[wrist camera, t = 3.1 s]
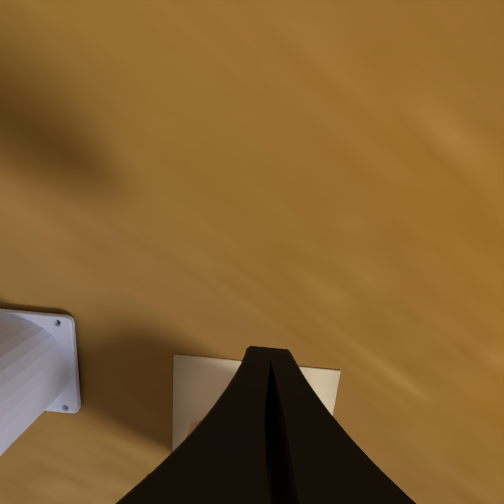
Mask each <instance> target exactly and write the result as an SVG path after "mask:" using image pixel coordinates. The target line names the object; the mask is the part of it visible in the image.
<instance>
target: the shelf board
mask: <svg viewBox="0 0 504 504" xmlns="http://www.w3.org/2000/svg"><path fill="white" fill-rule="evenodd" d="M241 362H242V361H240V360H230V359H219V358H209V357H199V356H188V355H178V354H174V361H173V427H172V452H173V451H174V450H175V449H176V448H177V447H178V446H179V445H180V444H181V443H182V442H183V441H184V440H185V439H186V436H187V433H188V429H189V426H190V424H191V423H192V422H194V421H198V420H202V419H203V418H204V417H205V416H206V415H207V413H208V412H209V411H210V410H211V408H212V407H213V406H214V404H215V403H216V402H217V400H218V399H219V397H220V396H221V395H222V393H223V392H224V391H225V389H226V388H227V386H228V384H229V383H230V381H231V380H232V378H233V376H234V375H235V373H236V371H237V370H238V368H239V366H240V364H241ZM299 368H300V370H301V371H302V373H303V375H304V376H305V378H306V379H307V381H308V382H309V384H310V385H311V387H312V388H313V390H314V391H315V393H316V394H317V396H318V397H319V398H320V400H321V401H322V403H323V404H324V405H325V407H326V408H327V409H328V411H329V412H330V413H331V415H333V410H334V404H335V398H336V393H337V387H338V382H339V376H340V370H333V369H323V368H313V367H302V366H299Z"/></svg>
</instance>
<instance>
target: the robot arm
mask: <svg viewBox="0 0 504 504" xmlns="http://www.w3.org/2000/svg"><path fill="white" fill-rule="evenodd" d="M57 320H59V321H60V323H61V324H60V323H59V322H58V321H57ZM66 405H67V406H66ZM80 408H81V399H80V386H79V373H78V360H77V348H76V335H75V322H74V319H73V318H72V317H71V316H69V315H63V314H52V313H42V312H31V311H20V310H10V309H0V456H1V455H2V454H3V453H4V452H5V451H6V450H7V448H8V447H9V446H10V445H11V444H12V443H13V442H14V441H15V440H16V439H17V438H18V437H19V436H20V435H21V434H22V433H23V432H24V431H25V430H26V429H27V428H28V427H29V426H30V425H31V424H32V423H33V422H34V421H35V420H36V419H37V418H38V417H39V415H40V414H41V413H42V412H43V411H54V412H64V413H76V412H77V411H78V410H79V409H80ZM116 504H416V503H415V502H414V501H413V500H412V499H410V498H409V497H408V496H407V495H406V494H405V493H404V492H403V491H402V490H401V489H400V488H399V487H398V486H397V485H396V484H395V483H394V482H393V481H392V480H391V479H390V478H388V477H387V476H386V475H385V474H384V473H383V472H382V471H381V470H380V469H379V468H378V467H377V466H376V465H375V464H374V463H373V462H372V461H371V460H370V459H369V458H368V456H367V455H366V454H365V453H364V452H363V451H362V450H361V449H360V448H359V447H358V446H357V444H356V443H355V442H354V441H353V440H352V439H351V438H350V437H349V436H348V434H347V433H346V432H345V431H344V430H343V428H342V427H341V426H340V425H339V423H338V422H337V421H336V420H335V418H334V417H333V416H332V415H331V413H330V412H329V411H328V409H327V408H326V407H325V405H324V404H323V403H322V401H321V400H320V398H319V397H318V396H317V394H316V393H315V391H314V390H313V388H312V387H311V385H310V384H309V382H308V381H307V379H306V378H305V376H304V375H303V373H302V371H301V370H300V368H299V366H298V365H297V363H296V361H295V360H294V358H293V356H292V354H291V353H290V351H289V350H288V349H277V348H267V347H257V346H250V347H248V348H247V349H246V353H245V356H244V358H243V360H242V362H241V364H240V366H239V368H238V370H237V371H236V373H235V375H234V376H233V378H232V380H231V381H230V383H229V384H228V386H227V388H226V389H225V391H224V392H223V393H222V395H221V396H220V397H219V399H218V400H217V402H216V403H215V404H214V406H213V407H212V408H211V410H210V411H209V412H208V413H207V415H206V416H205V417H204V418H203V419H202V421H201V422H200V423H199V424H198V425H197V426H196V428H195V429H194V430H193V431H192V432H191V433H190V434H189V435H188V437H187V438H186V439H185V440H184V441H183V442H182V443H181V444H180V445H179V446H178V447H177V448H176V449H175V450H174V451H173V452H172V453H171V454H170V455H169V456H168V457H167V458H166V459H165V460H164V461H163V462H162V463H161V464H160V465H159V466H158V467H157V468H156V469H155V470H154V471H152V472H151V473H150V474H149V475H148V476H147V477H146V478H144V479H143V480H142V481H141V482H140V483H139V484H138V485H136V486H135V487H134V488H133V489H132V490H131V491H130V492H128V493H127V494H126V495H125V496H124V497H123V498H122V499H120V500H119V501H118V502H117V503H116Z"/></svg>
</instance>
